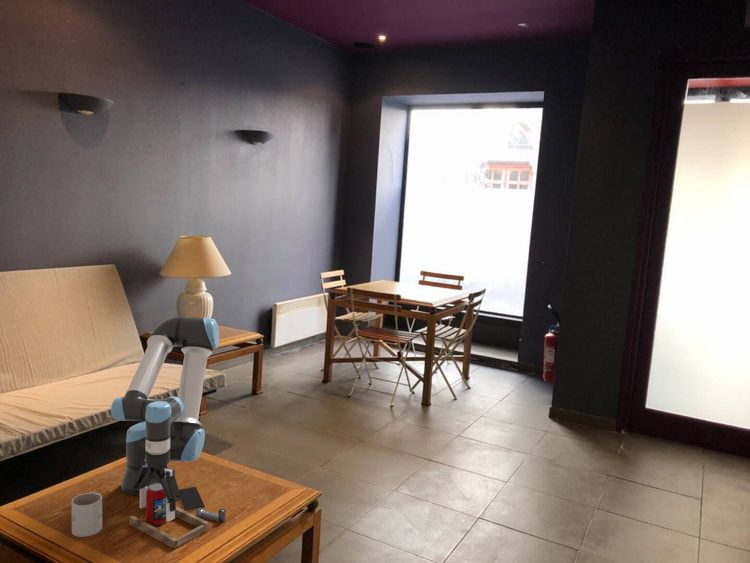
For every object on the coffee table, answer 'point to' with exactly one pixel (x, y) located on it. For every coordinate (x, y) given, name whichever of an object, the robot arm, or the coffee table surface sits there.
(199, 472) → the coffee table surface
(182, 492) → the smartphone
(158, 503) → the beverage can
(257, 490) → the coffee table surface
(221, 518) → the crank handle
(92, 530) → the mug
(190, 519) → the bay
